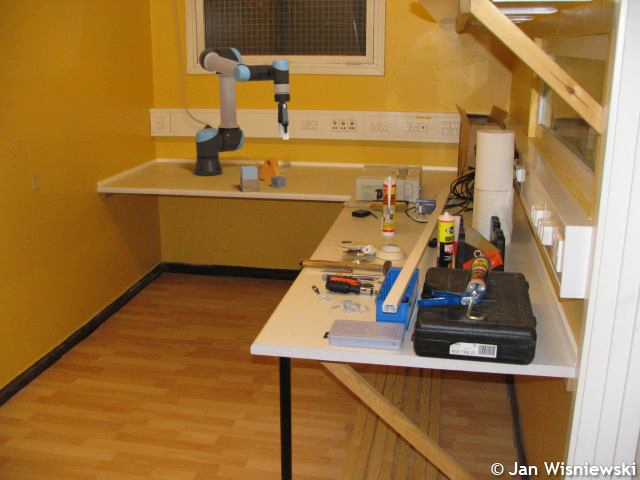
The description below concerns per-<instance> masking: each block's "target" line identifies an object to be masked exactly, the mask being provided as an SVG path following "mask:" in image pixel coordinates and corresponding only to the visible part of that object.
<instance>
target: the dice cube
mask: <svg viewBox="0 0 640 480" xmlns="http://www.w3.org/2000/svg"><path fill="white" fill-rule="evenodd" d="M279 175H280V174H279ZM279 175H278V176H273V177H271V182H270V183H271V184H270V185H271V188H274V189H283V188H287V183H286V182H287V177H286V176H285V177H284V176H279Z"/></svg>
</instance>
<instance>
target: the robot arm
mask: <svg viewBox="0 0 640 480" xmlns="http://www.w3.org/2000/svg"><path fill="white" fill-rule="evenodd" d="M198 63H199V65H200V68H202V69H203V70H204V71H208V72H212V73H213V72H215V75H216V76H217V77H218V86H219V87H218V88H219V90H218V91H219V93H218V94H219V115H220V123H219V124H218V126H217V128H216V127H215V128H214V127H209V128H204V129H200V130H199V129H198V131H197V132H196V133H195V151H196V161H195V164H194V168H193V172H194V173H193V174H194V175H195V176H203V177H204V176H205V177H207V176H210V177H211V176H217V175H218V176H219V175H222V174H223V166H222V163H221V160H220V158H219V157H220V154H219V153H226V152H235V151H239V150H241V149H242V147H243V146H244V145H245V138H246V137H245V133H244V131H243V130H242V129H241V127H240V125H239V124H238V121H237V118H238V116H237V95H236V94H237V92H236V91H237V90H236V82H238V83H239V82H241V83H246V82H247V83H249V82H262V81H263V82H270V81H272V82H273V93H274V95H273V98H274V99H273V100H274V102H275V103H277V124H278V137H279V138H282V140H284V141H285V140H290V137H289V136H290V135H289V125H290V122H289V113H288V112H289V111H288V104H287V102H290V101H291V94H290V92H291V91H290V90H291V87H292V86H291V85H290V67H289V66H290V64H289V61H288V59H274V60H272V64H245V63H243V58H242V55H241V53H240V52H239V50H238V49H236V48H235V47H229V46H228V47H208V48H205V49H204V50H202V51H201V53H200V54H199V56H198Z"/></svg>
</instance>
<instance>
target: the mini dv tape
mask: <svg viewBox="0 0 640 480" xmlns="http://www.w3.org/2000/svg"><path fill="white" fill-rule="evenodd" d="M414 205H415V208H414V214H415V213H419V214H418V215H421V214H420V213H427V214H426V215H430V214H431V213H432V212H433V211H434V210H435V208H436V207H437V199H425V198H416V199H415V204H414ZM436 209H437V208H436Z"/></svg>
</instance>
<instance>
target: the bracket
mask: <svg viewBox="0 0 640 480" xmlns="http://www.w3.org/2000/svg"><path fill="white" fill-rule="evenodd" d="M278 166H279V160H278V158H277V157H276V156H272V157H268V158H265V159H264V162H263V165H262V168H261V171H260V175H259V177H260V178H259V180H264V182H268V183H271V177H273V176H278V175H279V176H284V177H286V176H285V174H280V173H279V170H278Z"/></svg>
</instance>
